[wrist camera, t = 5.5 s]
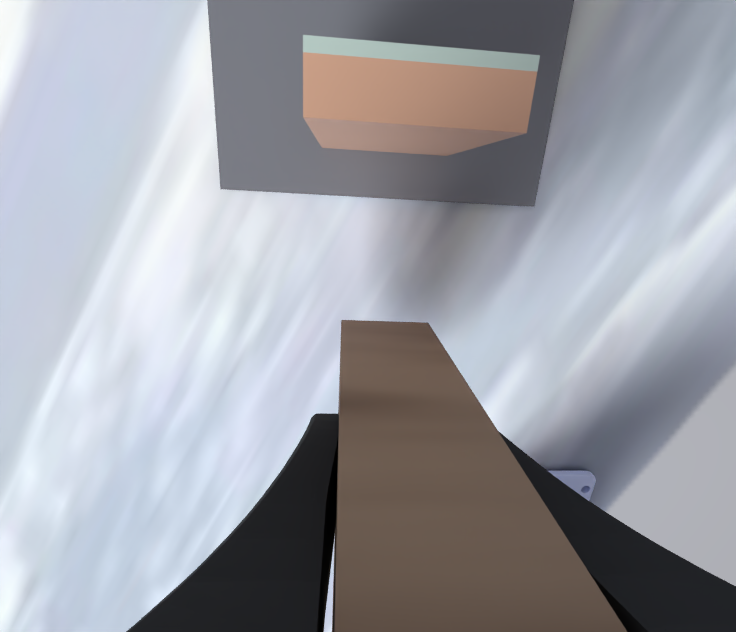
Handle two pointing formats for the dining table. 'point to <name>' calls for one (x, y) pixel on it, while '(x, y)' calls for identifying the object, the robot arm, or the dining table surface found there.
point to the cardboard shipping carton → (440, 505)
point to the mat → (357, 167)
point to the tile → (413, 95)
